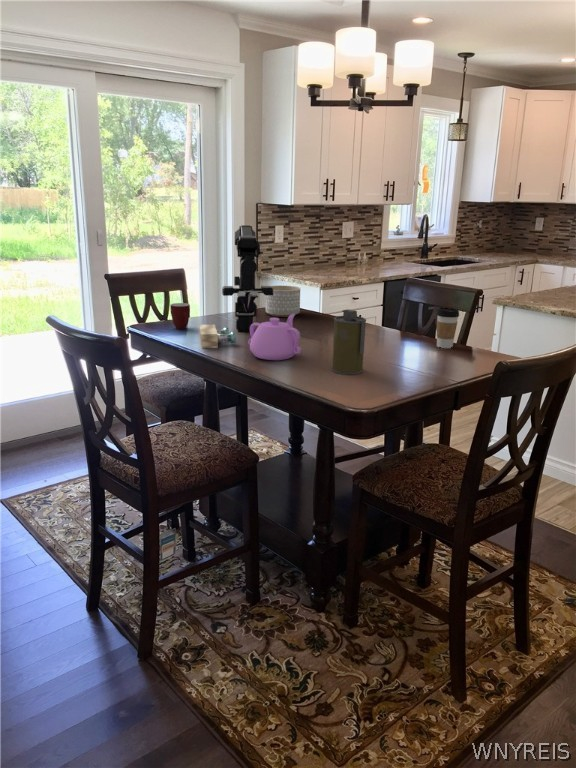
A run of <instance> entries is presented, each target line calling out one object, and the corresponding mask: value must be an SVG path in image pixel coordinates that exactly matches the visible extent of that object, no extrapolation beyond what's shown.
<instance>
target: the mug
mask: <svg viewBox="0 0 576 768" xmlns="http://www.w3.org/2000/svg"><path fill="white" fill-rule="evenodd" d="M169 305H170V310H169V311H170V315H171V320H172V323H173V325H174V327H175V329H178V330H183V329H186V327H187V326H188V323H189V319H190V313H191V305H190V303H185V302H176V303H171V304H169Z"/></svg>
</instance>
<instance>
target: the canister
mask: <svg viewBox="0 0 576 768" xmlns="http://www.w3.org/2000/svg"><path fill="white" fill-rule="evenodd" d="M333 321H334V322H333V342H332V343H333V346H332V347H333V348H332V365H331V371H332V372H333V373H336V374H338V375H339V374H341V375H349V376H351V375H352V376H353V375H359V374H362V373H363V371H364V369H363V368H364V366H363V365H364V354H365V340H366V338H365V336H366V322H367V319H366V318H365V317H362V316H358V311H357V310H355V309H348V308H347V309H343V310H342V315H338V316H334V318H333Z"/></svg>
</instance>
